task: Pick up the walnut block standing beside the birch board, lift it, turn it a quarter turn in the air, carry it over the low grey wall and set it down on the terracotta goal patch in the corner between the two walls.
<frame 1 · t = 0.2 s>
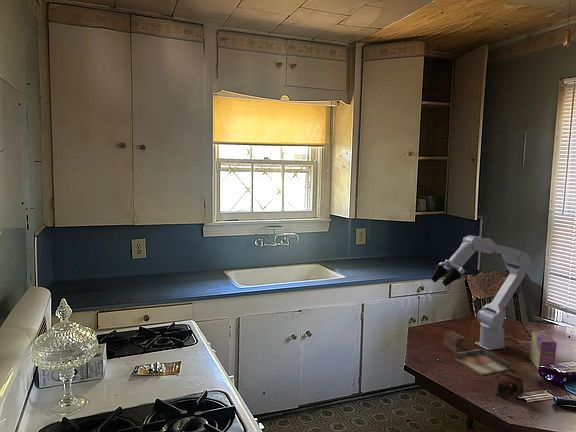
hand: (438, 282, 185), 31 cm above the table, tool tilted 45°, fingers open, 7 cm apart
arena: (481, 364, 180), on the table
walnut block: (453, 348, 195), on the table
box: (541, 365, 179), on the table
pottery mug: (510, 395, 156), on the table
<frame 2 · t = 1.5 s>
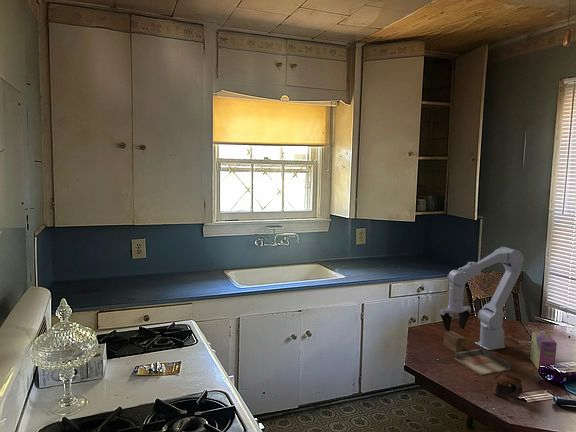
hand: (454, 329, 194), 8 cm above the table, tool pointing down, fingers open, 7 cm apart
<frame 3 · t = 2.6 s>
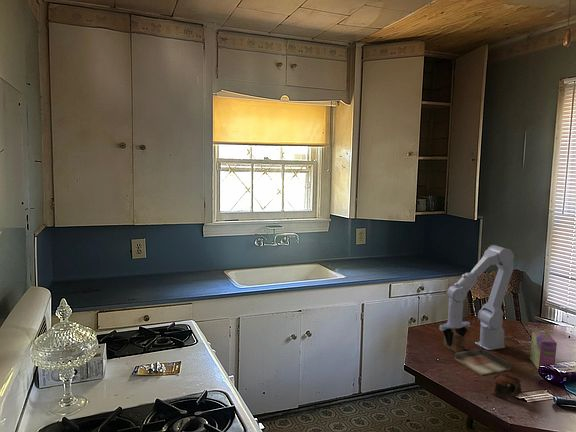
hand: (453, 344, 195), 2 cm above the table, tool pointing down, fingers closed on walnut block, 4 cm apart
walnut block: (453, 348, 195), on the table, touching gripper
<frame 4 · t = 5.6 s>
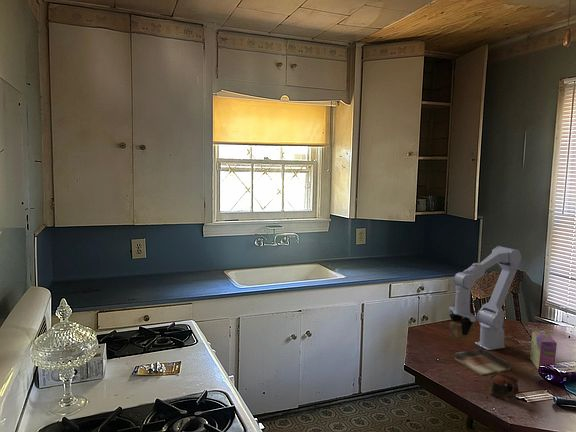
hand: (461, 332, 191), 8 cm above the table, tool pointing down, fingers closed on walnut block, 4 cm apart
walnut block: (460, 336, 191), point 7 cm above the table, touching gripper
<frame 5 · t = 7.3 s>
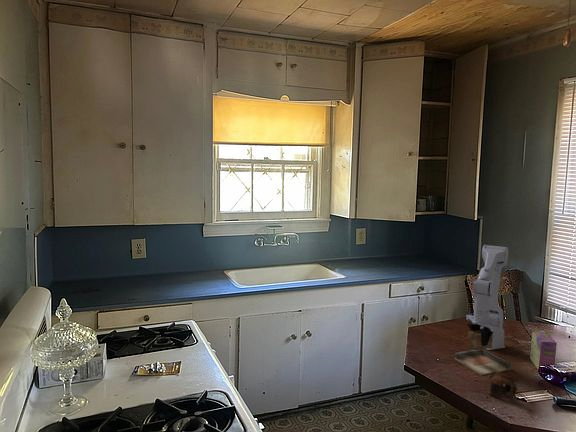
hand: (479, 342, 180), 8 cm above the table, tool pointing down, fingers closed on walnut block, 4 cm apart
walnut block: (479, 346, 181), point 7 cm above the table, touching gripper
when the fingers open (3 cm above the table, at t = 8.8 s): walnut block stays where it is, resting on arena.
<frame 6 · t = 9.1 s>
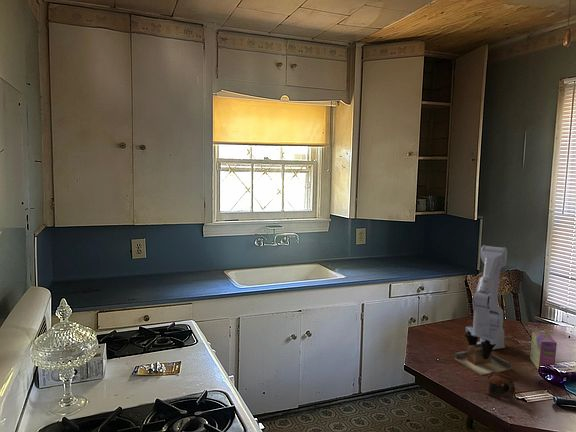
hand: (479, 354, 181), 3 cm above the table, tool pointing down, fingers open, 7 cm apart
walnut block: (478, 360, 181), point 1 cm above the table, touching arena
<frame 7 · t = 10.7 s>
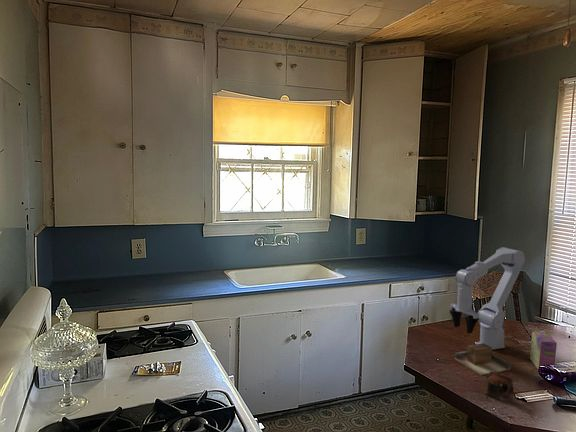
hand: (463, 329, 191), 9 cm above the table, tool pointing down, fingers open, 7 cm apart
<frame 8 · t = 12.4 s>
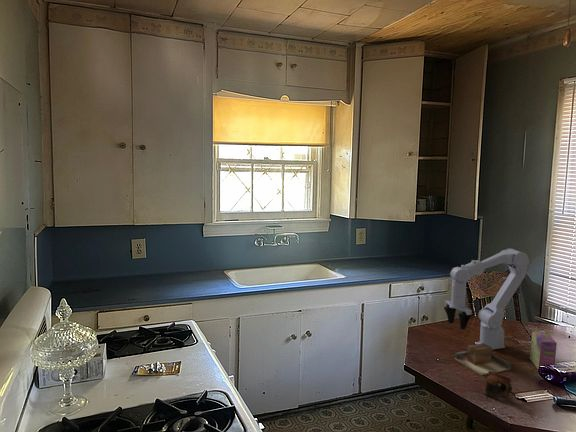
hand: (457, 325, 196), 9 cm above the table, tool pointing down, fingers open, 7 cm apart
at the end: walnut block 0.0 cm from the target spot, point 0.7 cm above the table; walnut block tilted 0°; the gripper is holding nothing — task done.
